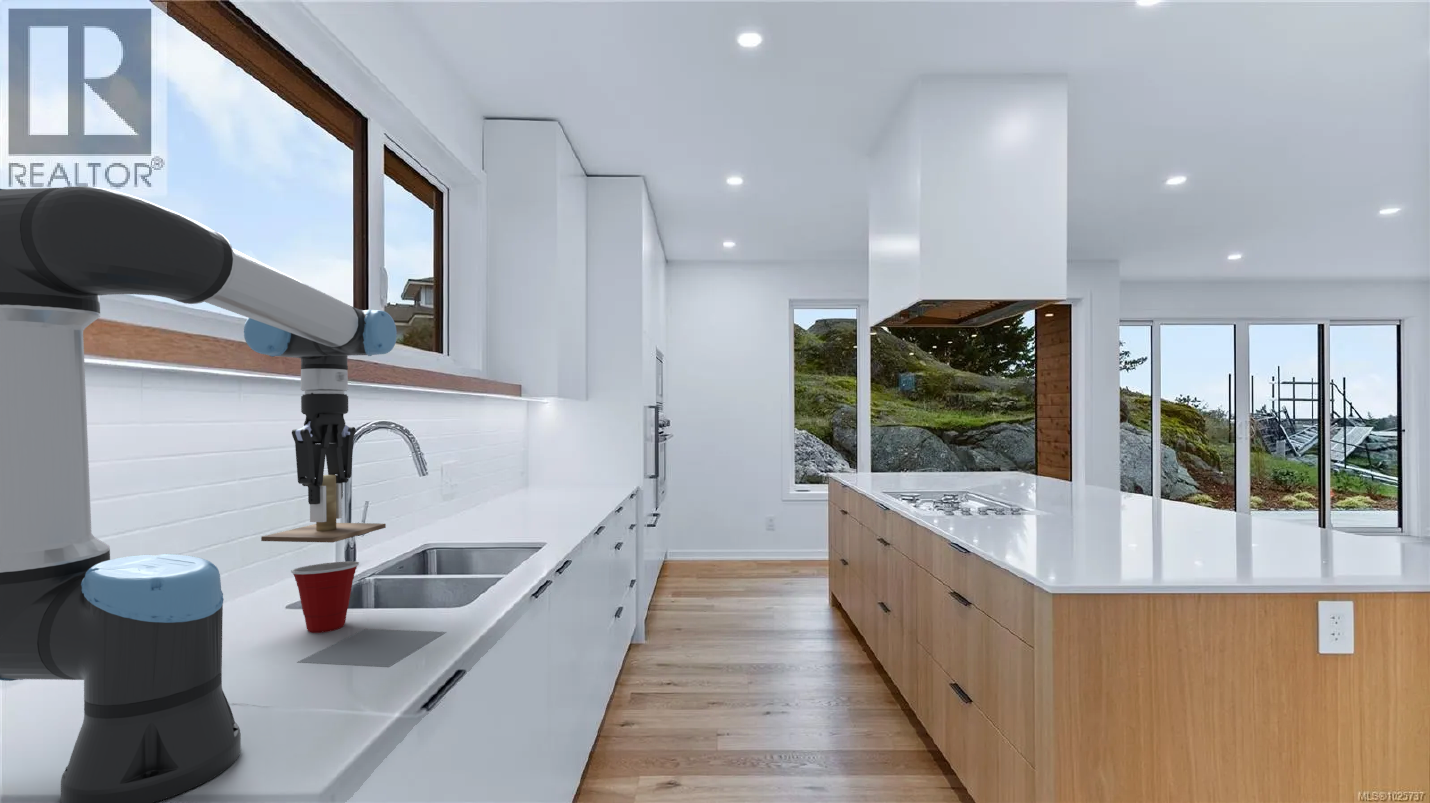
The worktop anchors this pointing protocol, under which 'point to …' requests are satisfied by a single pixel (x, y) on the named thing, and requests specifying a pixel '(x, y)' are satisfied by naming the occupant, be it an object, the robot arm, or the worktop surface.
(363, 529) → the walnut lid
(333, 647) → the charcoal mat
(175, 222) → the robot arm
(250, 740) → the worktop surface
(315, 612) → the plastic cup
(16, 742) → the worktop surface
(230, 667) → the worktop surface
